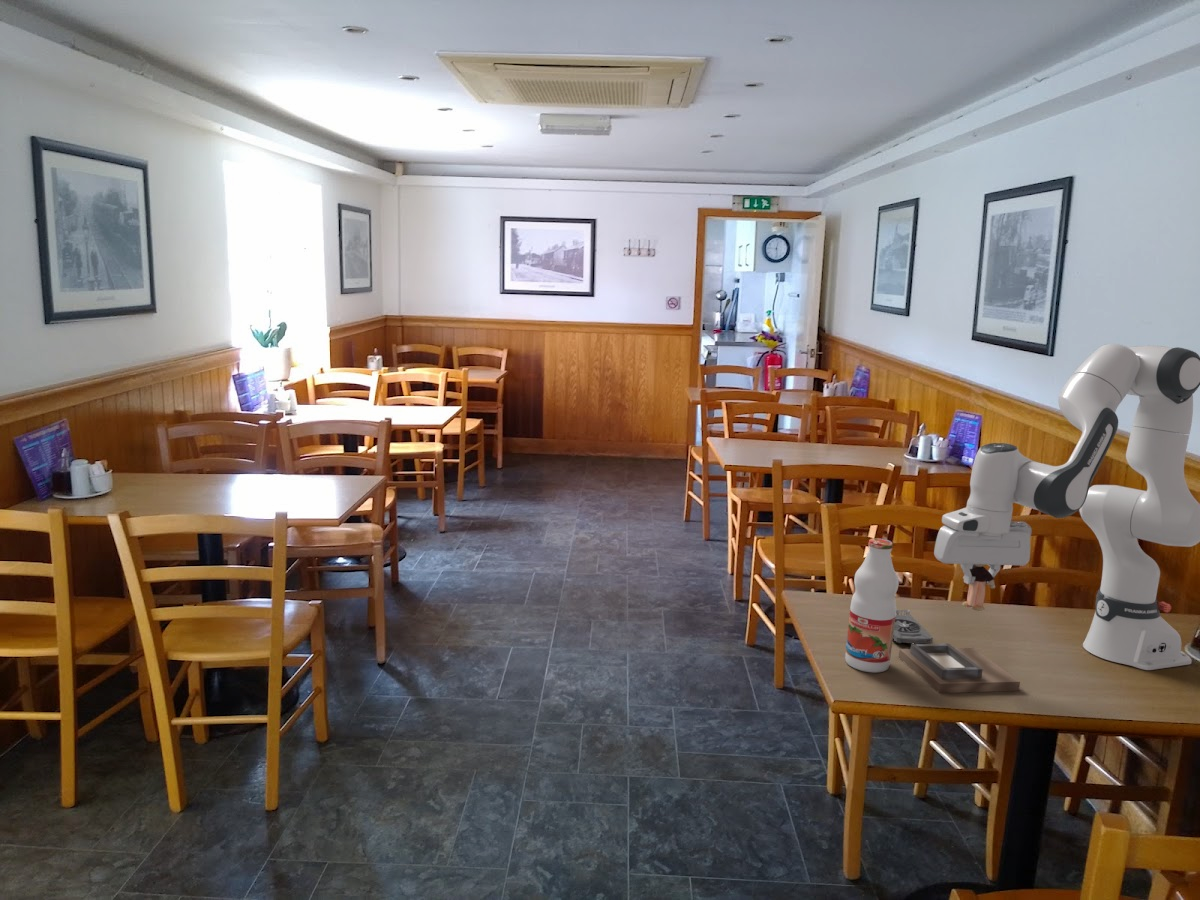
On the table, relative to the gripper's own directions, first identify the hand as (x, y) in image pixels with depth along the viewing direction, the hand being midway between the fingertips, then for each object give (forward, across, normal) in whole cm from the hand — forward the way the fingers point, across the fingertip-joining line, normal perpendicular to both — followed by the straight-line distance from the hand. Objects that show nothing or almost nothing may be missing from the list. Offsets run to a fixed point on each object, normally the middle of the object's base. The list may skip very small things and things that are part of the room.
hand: (977, 583), depth 183 cm
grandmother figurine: (+6, 0, 0) cm, 6 cm away
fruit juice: (+21, +20, -6) cm, 29 cm away
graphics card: (+21, +4, -22) cm, 31 cm away
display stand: (+20, +2, 0) cm, 20 cm away
